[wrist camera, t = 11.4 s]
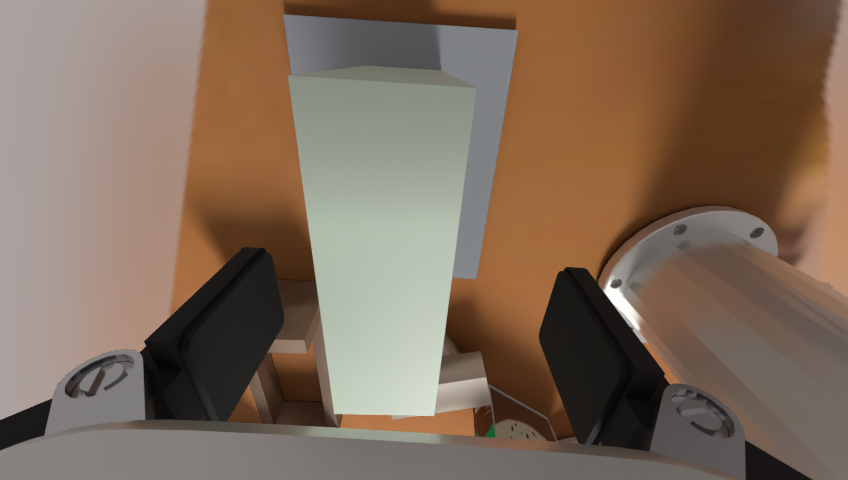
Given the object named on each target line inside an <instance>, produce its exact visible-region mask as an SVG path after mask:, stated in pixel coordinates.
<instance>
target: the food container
mask: <svg viewBox="0 0 848 480" xmlns="http://www.w3.org/2000/svg"><path fill="white" fill-rule="evenodd" d="M488 388H489V393H490V398H491V402H492V405H488V406H481V407H474V408H473V414H474V428H475V436H476V437H491V438H506V439H521V440H536V441H551V442H558V441H557V439H556V436H555V434H554V431H553V429H552V426H551V424H550V422H549V419H548V417H546V416H544V415H542V414H541V413H539V412H537V411H535V410H534V409H532V408H530V407H528V406H527V405H525V404H523V403H521V402H520V401H518V400H516V399H514V398H513V397H511V396H509V395H507V394H505V393H504V392H502V391H500V390H498V389H497V388H495V387H493V386H491V385H490V384H488Z"/></svg>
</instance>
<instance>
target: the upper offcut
mask: <svg viewBox="0 0 848 480" xmlns="http://www.w3.org/2000/svg"><path fill="white" fill-rule="evenodd" d="M488 405H492V402H491V398H490V393H489V388H488V383H487V378H486V373H485V369H484V364H483V359H482V354H481V351H476V352H470V353H464V354H458V355H452V356H445V357H442V359H441V367H440V374H439V382H438V390H437V398H436V405H435V413H440V412H447V411H454V410H461V409H467V408H474V407H481V406H488ZM391 417H392V419H399V418H406V417H413V416H412V415H391Z"/></svg>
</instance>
